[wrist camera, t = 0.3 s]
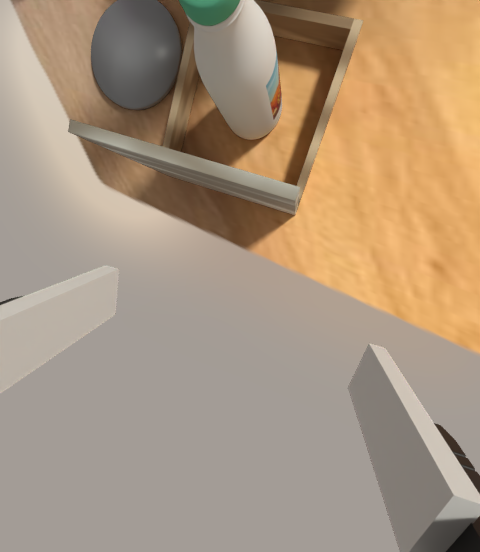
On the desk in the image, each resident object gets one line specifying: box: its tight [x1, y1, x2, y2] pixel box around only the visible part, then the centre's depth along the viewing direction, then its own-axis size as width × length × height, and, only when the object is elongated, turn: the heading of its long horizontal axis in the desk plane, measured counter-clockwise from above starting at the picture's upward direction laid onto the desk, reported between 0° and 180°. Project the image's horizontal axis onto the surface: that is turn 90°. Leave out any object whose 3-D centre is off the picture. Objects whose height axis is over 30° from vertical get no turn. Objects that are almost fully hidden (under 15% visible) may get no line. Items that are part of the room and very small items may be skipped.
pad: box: [91, 0, 182, 110], centre depth 37 cm, size 14×14×1 cm
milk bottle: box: [179, 0, 282, 140], centre depth 25 cm, size 8×8×20 cm
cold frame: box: [68, 0, 363, 215], centre depth 26 cm, size 22×20×18 cm
